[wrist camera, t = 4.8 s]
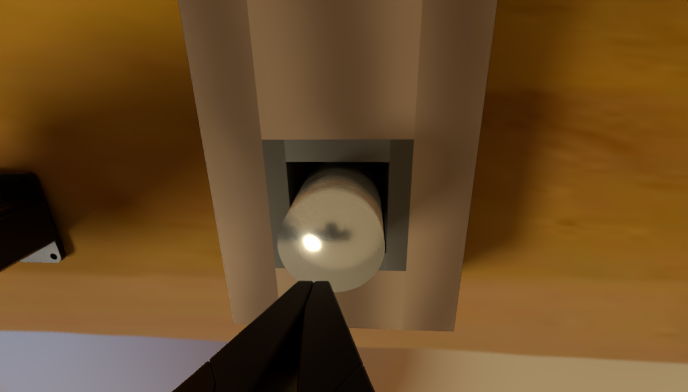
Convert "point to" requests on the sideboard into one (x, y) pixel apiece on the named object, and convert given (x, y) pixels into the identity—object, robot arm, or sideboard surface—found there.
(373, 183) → the metal peg
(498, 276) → the sideboard surface
